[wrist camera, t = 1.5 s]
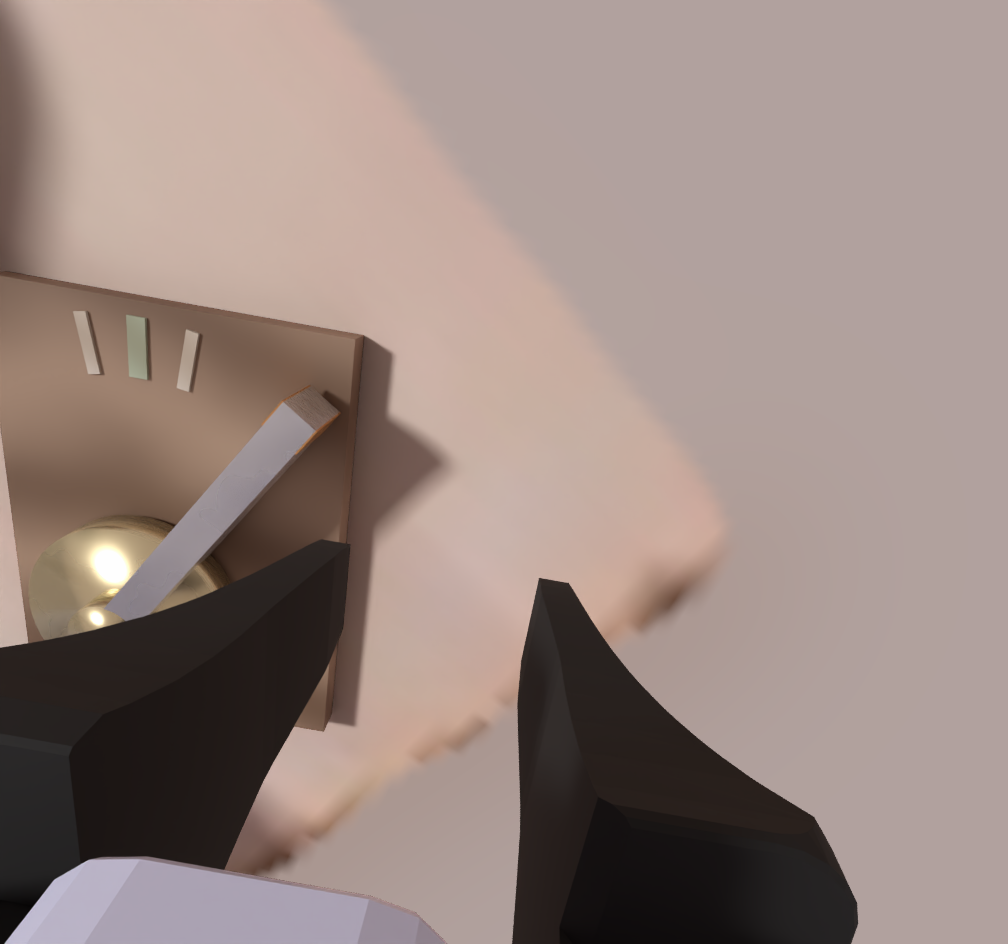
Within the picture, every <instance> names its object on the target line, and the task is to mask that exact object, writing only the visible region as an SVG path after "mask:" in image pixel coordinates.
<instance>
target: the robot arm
mask: <svg viewBox="0 0 1008 944" xmlns="http://www.w3.org/2000/svg"><path fill="white" fill-rule="evenodd" d="M349 555H350V544H346V543H340V542H334V541H329V540H323V539H320V540H318V541H316V542H314V543H311V544H309V545H307V546H305V547H303V548H302V549H300V550H298V551H296V552H294V553H292V554H290V555H288V556H286V557H284V558H282V559H280V560H278V561H276V562H274V563H273V564H271V565H269V566H267V567H265V568H263V569H261V570H259V571H257V572H255V573H253V574H251V575H248V576H246V577H244V578H242V579H240V580H237V581H235V582H233V583H231V584H228V585H226V586H224V587H222V588H219V589H217V590H215V591H213V592H211V593H208V594H206V595H203V596H201V597H198V598H196V599H193V600H190V601H188V602H185V603H182V604H179V605H177V606H174V607H171V608H168V609H165V610H162V611H159V612H156V613H153V614H150V615H146V616H143V617H139V618H136V619H132V620H128V621H125V622H121V623H117V624H113V625H110V626H106V627H102V628H99V629H95V630H91V631H87V632H82V633H78V634H73V635H68V636H64V637H59V638H54V639H49V640H43V641H38V642H32V643H27V644H21V645H15V646H9V647H3V648H0V944H447V943H446V942H445V941H444V940H443V939H442V938H441V937H440V936H439V935H438V934H437V933H436V932H435V931H434V930H433V929H432V928H431V927H430V926H429V925H428V924H427V923H426V922H425V921H424V920H423V919H422V918H421V917H420V916H419V915H418V914H417V913H416V912H413V911H410V910H408V909H405V908H402V907H400V906H397V905H394V904H391V903H389V902H386V901H383V900H381V899H378V898H375V897H373V896H369V895H363V894H357V893H352V892H346V891H340V890H334V889H328V888H323V887H317V886H312V885H306V884H301V883H295V882H289V881H284V880H278V879H272V878H266V877H261V876H255V875H249V874H244V873H238V872H232V871H227V870H224V869H225V866H226V864H227V862H228V859H229V857H230V855H231V852H232V850H233V848H234V845H235V843H236V841H237V838H238V836H239V834H240V832H241V829H242V827H243V825H244V823H245V820H246V818H247V816H248V814H249V812H250V809H251V807H252V805H253V803H254V800H255V798H256V796H257V794H258V792H259V789H260V787H261V785H262V783H263V781H264V779H265V777H266V775H267V773H268V771H269V770H270V768H271V766H272V764H273V762H274V760H275V758H276V757H277V755H278V753H279V752H280V750H281V748H282V746H283V745H284V743H285V741H286V739H287V738H288V736H289V734H290V732H291V731H292V729H293V727H294V725H295V724H296V722H297V720H298V719H299V717H300V715H301V713H302V712H303V710H304V708H305V706H306V705H307V703H308V701H309V699H310V698H311V696H312V694H313V692H314V691H315V689H316V687H317V685H318V684H319V682H320V680H321V678H322V676H323V675H324V673H325V671H326V669H327V667H328V664H329V662H330V660H331V657H332V655H333V652H334V650H335V647H336V645H337V642H338V640H339V637H340V635H341V632H342V630H343V623H344V612H345V600H346V589H347V578H348V566H349ZM518 742H519V772H520V773H519V776H520V808H521V809H520V842H519V856H518V872H517V886H516V900H515V913H514V926H513V941H512V944H851V942H852V939H853V937H854V934H855V931H856V928H857V925H858V914H857V902H856V900H855V898H854V896H853V894H852V891H851V889H850V887H849V885H848V883H847V881H846V879H845V876H844V874H843V872H842V870H841V868H840V865H839V863H838V861H837V859H836V857H835V855H834V852H833V850H832V848H831V847H830V845H829V843H828V841H827V839H826V837H825V836H824V834H823V832H822V830H821V828H820V827H819V825H818V823H817V821H816V820H815V818H814V817H813V816H811V815H810V814H808V813H807V812H805V811H803V810H802V809H800V808H798V807H797V806H795V805H794V804H792V803H790V802H789V801H787V800H785V799H783V798H782V797H781V796H779V795H777V794H776V793H774V792H772V791H771V790H769V789H768V788H766V787H764V786H763V785H761V784H759V783H758V782H756V781H755V780H753V779H752V778H750V777H749V776H748V775H746V774H745V773H743V772H742V771H741V770H739V769H738V768H736V767H735V766H734V765H732V764H731V763H729V762H728V761H727V760H725V759H724V758H722V757H721V756H720V755H718V754H717V753H716V752H714V751H713V750H712V749H711V748H709V747H708V746H707V745H706V744H704V743H703V742H702V741H701V740H699V739H698V738H697V737H696V736H695V735H693V734H692V733H691V732H690V731H689V730H687V729H686V728H685V727H684V726H683V725H682V724H681V723H679V722H678V721H677V720H676V719H675V718H674V717H673V716H672V715H670V714H669V713H668V712H667V711H666V710H665V709H664V708H663V707H662V706H661V705H660V704H659V703H658V702H657V701H656V700H655V699H654V698H653V697H652V696H651V695H650V694H649V693H648V692H647V691H646V690H645V689H644V688H643V687H642V685H641V684H640V683H639V682H638V681H637V680H636V679H635V678H634V677H633V675H632V674H631V673H630V672H629V671H628V669H627V668H626V667H625V666H624V665H623V663H622V662H621V661H620V660H619V658H618V657H617V656H616V655H615V653H614V652H613V651H612V649H611V648H610V647H609V645H608V644H607V642H606V641H605V639H604V638H603V637H602V635H601V634H600V632H599V631H598V629H597V628H596V626H595V625H594V623H593V622H592V620H591V619H590V617H589V615H588V614H587V612H586V611H585V609H584V607H583V606H582V604H581V602H580V601H579V599H578V597H577V596H576V594H575V592H574V591H573V589H572V588H571V586H570V585H569V583H564V582H559V581H553V580H548V579H542V578H539V581H538V586H537V591H536V595H535V600H534V604H533V609H532V614H531V618H530V623H529V628H528V632H527V637H526V641H525V646H524V651H523V655H522V660H521V670H520V681H519V692H518Z"/></svg>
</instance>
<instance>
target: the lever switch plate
mask: <svg viewBox="0 0 1008 944" xmlns="http://www.w3.org/2000/svg"><path fill="white" fill-rule="evenodd" d="M363 341H364V335H359V334H353V333H348V332H342V331H337V330H331V329H326V328H320V327H314V326H309V325H303V324H298V323H292V322H286V321H281V320H275V319H270V318H264V317H259V316H253V315H247V314H242V313H236V312H231V311H225V310H220V309H214V308H208V307H203V306H197V305H192V304H186V303H180V302H175V301H169V300H164V299H158V298H153V297H147V296H141V295H136V294H130V293H125V292H119V291H113V290H108V289H102V288H97V287H91V286H86V285H80V284H74V283H69V282H63V281H58V280H52V279H46V278H41V277H35V276H30V275H24V274H19V273H13V272H7V271H3V272H0V428H1V435H2V443H3V451H4V458H5V466H6V474H7V481H8V489H9V497H10V504H11V512H12V520H13V527H14V535H15V543H16V550H17V558H18V566H19V574H20V581H21V589H22V597H23V604H24V612H25V620H26V627H27V635H28V643H32V642H38V641H43V640H44V639H43V637H42V636H41V634H40V632H39V630H38V628H37V626H36V624H35V621H34V619H33V616H32V612H31V608H30V604H29V594H28V593H29V581H30V577H31V573H32V570H33V568H34V565H35V563H36V562H37V560H38V558H39V557H40V555H41V554H42V553H43V552H44V551H45V550H46V549H47V548H48V547H49V546H50V545H52V544H53V543H54V542H56V541H57V540H59V539H60V538H62V537H64V536H66V535H67V534H69V533H71V532H72V531H74V530H76V529H77V528H79V527H81V526H83V525H84V524H86V523H88V522H90V521H93V520H96V519H99V518H102V517H107V516H112V515H137V516H143V517H148V518H152V519H155V520H159V521H162V522H165V523H167V524H169V525H171V526H174V527H175V526H176V525H177V524H178V523H179V521H180V520H181V519H182V518H183V517H184V516H185V514H186V513H187V512H188V511H189V510H190V509H191V508H192V506H193V505H194V504H195V503H196V502H197V501H198V499H199V498H200V497H201V496H202V495H203V494H204V493H205V491H206V490H207V489H208V488H209V487H210V486H211V484H212V483H213V482H214V481H215V480H216V479H217V478H218V476H219V475H220V474H221V473H222V472H223V471H224V469H225V468H226V467H227V466H228V465H229V464H230V463H231V461H232V460H233V459H234V458H235V457H236V456H237V454H238V453H239V452H240V451H241V450H242V449H243V448H244V446H245V445H246V444H247V443H248V442H249V441H250V439H251V438H252V437H253V436H254V435H255V434H256V433H257V431H258V430H259V429H260V428H261V427H262V425H261V424H262V423H263V422H264V421H265V419H266V418H267V417H268V416H269V415H270V414H271V412H272V411H273V410H274V409H275V408H276V407H277V406H278V404H279V403H280V402H281V401H282V400H284V399H286V398H287V397H289V396H291V395H293V394H294V393H296V392H298V391H300V390H302V389H303V388H305V387H307V386H309V385H310V386H311V387H312V388H314V389H315V390H316V391H317V392H318V393H319V394H320V395H321V396H322V397H324V398H325V399H326V400H327V401H328V402H329V403H330V404H331V405H332V406H333V407H335V408H336V409H337V410H338V411H339V412H340V413H341V414H340V415H339V416H338V417H337V418H336V419H335V420H334V421H333V422H332V423H331V425H330V426H329V427H328V428H327V429H326V430H325V431H324V432H323V433H322V434H321V435H320V436H319V437H318V438H316V439H315V440H314V441H313V442H312V443H311V444H310V445H309V446H308V447H307V449H306V450H305V451H304V452H303V453H302V454H301V455H300V456H299V457H298V458H297V460H296V461H295V462H294V463H293V464H292V465H291V466H290V467H289V468H288V469H287V470H286V472H285V473H284V474H283V475H282V476H281V477H280V478H279V479H278V480H277V481H276V483H275V484H274V485H273V486H272V487H271V488H270V489H269V490H268V491H267V492H266V494H265V495H264V496H263V497H262V498H261V499H260V500H259V501H258V502H257V503H256V504H255V506H254V507H253V508H252V509H251V510H250V511H249V512H248V513H247V514H246V515H245V517H244V518H243V519H242V520H241V521H240V522H239V523H238V524H237V525H236V526H235V528H234V529H233V530H232V531H231V532H230V533H229V534H228V535H227V536H226V537H225V538H224V540H223V541H222V542H221V543H220V544H219V545H218V546H217V547H216V548H215V549H214V551H213V552H212V553H211V554H212V555H213V556H214V558H215V559H216V560H217V561H218V562H219V564H220V565H221V567H222V568H223V569H224V571H225V573H226V574H227V576H228V578H229V580H230V582H231V583H233V582H235V581H237V580H240V579H242V578H244V577H246V576H248V575H251V574H253V573H255V572H257V571H259V570H261V569H263V568H265V567H267V566H269V565H271V564H273V563H274V562H276V561H278V560H280V559H282V558H284V557H286V556H288V555H290V554H292V553H294V552H296V551H298V550H300V549H302V548H303V547H305V546H307V545H309V544H311V543H314V542H316V541H318V540H320V539H323V540H329V541H334V542H340V543H346V540H347V528H348V517H349V505H350V493H351V481H352V470H353V458H354V446H355V434H356V423H357V411H358V399H359V388H360V376H361V364H362V352H363ZM337 646H338V642H337V645H336V647H335V650H334V652H333V655H332V657H331V660H330V662H329V664H328V667H327V669H326V671H325V673H324V675H323V676H322V678H321V680H320V682H319V684H318V685H317V687H316V689H315V691H314V692H313V694H312V696H311V698H310V699H309V701H308V703H307V705H306V706H305V708H304V710H303V712H302V713H301V715H300V717H299V719H298V720H297V722H296V724H295V725H294V726H295V727H300V728H306V729H312V730H317V731H323V732H324V730H325V728H326V725H327V723H328V721H329V719H330V717H331V714H332V704H333V692H334V681H335V669H336V657H337Z"/></svg>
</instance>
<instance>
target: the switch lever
mask: <svg viewBox="0 0 1008 944" xmlns="http://www.w3.org/2000/svg"><path fill="white" fill-rule="evenodd" d="M340 414H341V413H340V412H339V411H338V410H337V409H336V408H335V407H333V406H332V405H331V404H330V403H329V402H328V401H327V400H326V399H325V398H324V397H322V396H321V395H320V394H319V393H318V392H317V391H316V390H315V389H314V388H312V387H311V386H310V385H309V386H307V387H305V388H303V389H302V390H300V391H298V392H296V393H294V394H293V395H291V396H289V397H287V398H286V399H284V400H282V401H281V402H280V403H279V404H278V406H277V407H276V408H275V409H274V410H273V411H272V412H271V414H270V415H269V416H268V417H267V418H266V419H265V421H264V422H263V423H262V424H261V425H262V427H261V428H260V429H259V430H258V431H257V433H256V434H255V435H254V436H253V437H252V438H251V439H250V441H249V442H248V443H247V444H246V445H245V446H244V448H243V449H242V450H241V451H240V452H239V453H238V454H237V456H236V457H235V458H234V459H233V460H232V461H231V463H230V464H229V465H228V466H227V467H226V468H225V469H224V471H223V472H222V473H221V474H220V475H219V476H218V478H217V479H216V480H215V481H214V482H213V483H212V484H211V486H210V487H209V488H208V489H207V490H206V491H205V493H204V494H203V495H202V496H201V497H200V498H199V499H198V501H197V502H196V503H195V504H194V505H193V506H192V508H191V509H190V510H189V511H188V512H187V513H186V514H185V516H184V517H183V518H182V519H181V520H180V521H179V523H178V524H177V525H176V526H175V527H174V526H171V525H169V524H167V523H165V522H162V521H159V520H155V519H152V518H148V517H143V516H137V515H112V516H107V517H102V518H99V519H96V520H93V521H90V522H88V523H86V524H84V525H83V526H81V527H79V528H77V529H76V530H74V531H72V532H71V533H69V534H67V535H66V536H64V537H62V538H60V539H59V540H57V541H56V542H54V543H53V544H52V545H50V546H49V547H48V548H47V549H46V550H45V551H44V552H43V553H42V554H41V555H40V557H39V558H38V560H37V562H36V563H35V565H34V568H33V570H32V573H31V577H30V581H29V593H28V594H29V604H30V608H31V612H32V616H33V619H34V621H35V624H36V626H37V628H38V630H39V632H40V634H41V636H42V637H43V639H44V640H49V639H54V638H59V637H64V636H68V635H73V634H78V633H82V632H87V631H91V630H95V629H99V628H102V627H106V626H110V625H113V624H117V623H121V622H125V621H128V620H132V619H136V618H139V617H143V616H146V615H150V614H153V613H156V612H159V611H162V610H165V609H168V608H171V607H174V606H177V605H179V604H182V603H185V602H188V601H190V600H193V599H196V598H198V597H201V596H203V595H206V594H208V593H211V592H213V591H215V590H217V589H219V588H222V587H224V586H226V585H228V584H231V582H230V580H229V578H228V576H227V574H226V573H225V571H224V569H223V568H222V567H221V565H220V564H219V562H218V561H217V560H216V559H215V558H214V556H213V555H212V554H211V553H212V552H213V551H214V549H215V548H216V547H217V546H218V545H219V544H220V543H221V542H222V541H223V540H224V538H225V537H226V536H227V535H228V534H229V533H230V532H231V531H232V530H233V529H234V528H235V526H236V525H237V524H238V523H239V522H240V521H241V520H242V519H243V518H244V517H245V515H246V514H247V513H248V512H249V511H250V510H251V509H252V508H253V507H254V506H255V504H256V503H257V502H258V501H259V500H260V499H261V498H262V497H263V496H264V495H265V494H266V492H267V491H268V490H269V489H270V488H271V487H272V486H273V485H274V484H275V483H276V481H277V480H278V479H279V478H280V477H281V476H282V475H283V474H284V473H285V472H286V470H287V469H288V468H289V467H290V466H291V465H292V464H293V463H294V462H295V461H296V460H297V458H298V457H299V456H300V455H301V454H302V453H303V452H304V451H305V450H306V449H307V447H308V446H309V445H310V444H311V443H312V442H313V441H314V440H315V439H316V438H318V437H319V436H320V435H321V434H322V433H323V432H324V431H325V430H326V429H327V428H328V427H329V426H330V425H331V423H332V422H333V421H334V420H335V419H336V418H337V417H338V416H339V415H340Z"/></svg>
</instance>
